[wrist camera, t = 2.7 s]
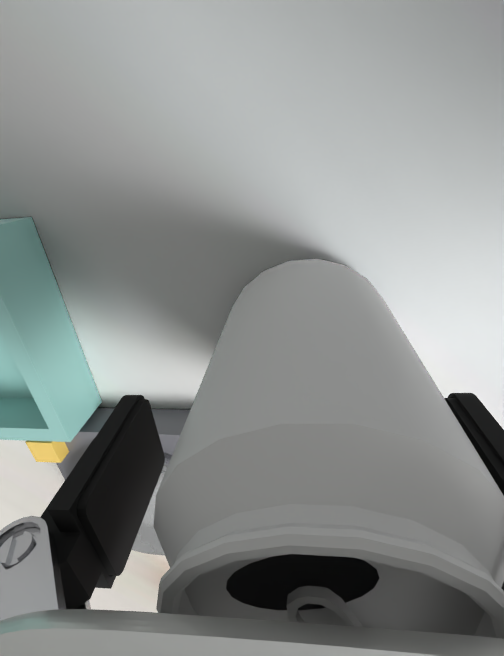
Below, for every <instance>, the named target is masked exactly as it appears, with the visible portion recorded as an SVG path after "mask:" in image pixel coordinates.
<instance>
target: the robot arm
mask: <svg viewBox="0 0 504 656" xmlns="http://www.w3.org/2000/svg"><path fill="white" fill-rule="evenodd" d="M444 399H445V401H446V402H447V404H448V406H449V407H450V409H451V410H452V412H453V414H454V415H455V417H456V419H457V420H458V422H459V424H460V425H461V427H462V428H463V430H464V432H465V433H466V435H467V437H468V438H469V440H470V441H471V443H472V445H473V446H474V448H475V450H476V451H477V453H478V454H479V456H480V458H481V459H482V461H483V463H484V464H485V466H486V468H487V469H488V471H489V472H490V474H491V476H492V477H493V479H494V481H495V482H496V484H497V485H498V487H499V489H500V490H501V492H502V494H503V495H504V430H503V429H502V427H501V426H500V425H499V424H498V422H497V421H496V420H495V419H494V417H493V416H492V415H491V414H490V413H489V411H488V410H487V409H486V408H485V406H484V405H483V404H482V403H481V401H480V400H479V399H478V398H477V397H476V396H475V395H474V394H472V393H451V394H450V395H449V396H448V398H444ZM164 462H165V456H164V452H163V448H162V445H161V441H160V438H159V434H158V431H157V427H156V424H155V420H154V417H153V413H152V410H151V406H150V403H149V401H148V400H146V399H144V397H143V396H142V395H125V396H123V397H122V398H121V400H120V401H119V403H118V404H117V406H116V407H115V409H114V410H113V412H112V413H111V415H110V416H109V418H108V419H107V421H106V422H105V424H104V425H103V427H102V428H101V430H100V431H99V433H98V434H97V436H96V437H95V438H94V439H93V440H92V442H91V443H90V445H89V446H88V448H87V449H86V451H85V452H84V453H83V455H82V456H81V458H80V459H79V461H78V462H77V464H76V465H75V467H74V468H73V470H72V471H71V473H70V474H69V476H68V477H67V479H66V480H65V482H64V483H63V485H62V486H61V488H60V489H59V491H58V492H57V493H56V495H55V496H54V498H53V499H52V501H51V502H50V504H49V505H48V507H47V508H46V510H45V511H44V513H43V514H42V516H41V517H36V516H29V517H24V518H21V519H19V520H16V521H14V522H12V523H10V524H9V525H7V526H6V527H4V528H3V529H1V530H0V656H504V639H502V638H491V637H481V636H470V635H459V634H446V633H433V632H420V631H407V630H394V629H381V628H368V627H355V626H341V625H327V624H313V623H299V622H285V621H271V620H257V619H243V618H228V617H213V616H198V615H183V614H167V613H152V612H136V611H113V610H91V607H90V603H89V599H90V598H91V596H92V593H93V591H94V589H95V587H96V588H111V587H112V585H113V582H114V580H115V577H116V576H119V575H120V574H121V573H122V572H123V570H124V567H125V565H126V562H127V560H128V557H129V554H130V552H131V549H132V547H133V544H134V542H135V539H136V536H137V534H138V531H139V529H140V526H141V523H142V521H143V518H144V516H145V513H146V511H147V508H148V505H149V503H150V500H151V498H152V495H153V492H154V490H155V487H156V485H157V482H158V480H159V477H160V474H161V472H162V469H163V466H164ZM501 589H502V590H503V591H504V582H503V584H502V587H501Z"/></svg>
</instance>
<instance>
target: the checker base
mask: <svg viewBox="0 0 504 656" xmlns="http://www.w3.org/2000/svg"><path fill="white" fill-rule="evenodd" d="M114 409H115V408H97V409H96V410H95V411H94V413H93V414H92V415H91V416H90V418H89V419H88V420H87V422H86V423H85V424H84V425H83V427H82V428H81V429H80V431H79V432H78V433H77V435H76V436H75V437H74V438H73V440H72V441H71V442H55V441H29V440H27V441H26V444H27V446H28V448H29V449H30V451H31V453H32V455H33V456H34V458H35V460H36V462H56V463H57V465H58V467H59V469H60V471H61V473H62V475H63V477H64V479H65V480H66V479H67V477H68V476H69V474H70V473H71V471H72V470H73V468H74V467H75V465H76V464H77V462H78V461H79V459H80V458H81V456H82V455H83V453H84V452H85V451H86V449H87V448H88V446H89V445H90V443H91V442H92V440H93V439H94V438H95V437H96V436H97V434H98V433H99V431H100V430H101V428H102V427H103V425H104V424H105V422H106V421H107V419H108V418H109V416H110V415H111V413H112V412H113V410H114ZM151 410H152V413H153V417H154V420H155V424H156V427H157V431H158V434H159V438H160V441H161V445H162V448H163V452H165V453H167V454H170V455H172V454H173V452H174V449H175V447H176V445H177V442H178V440H179V437H180V435H181V432H182V430H183V427H184V425H185V422H186V420H187V417H188V415H189V412H190V410H177V409H151Z"/></svg>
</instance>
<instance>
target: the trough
mask: <svg viewBox="0 0 504 656" xmlns="http://www.w3.org/2000/svg"><path fill="white" fill-rule="evenodd" d="M101 402H102V401H101V398H100V395H99V393H98V390H97V388H96V385H95V382H94V380H93V377H92V374H91V372H90V369H89V367H88V364H87V361H86V359H85V356H84V353H83V351H82V348H81V346H80V343H79V340H78V338H77V335H76V332H75V330H74V327H73V325H72V322H71V319H70V317H69V314H68V311H67V309H66V306H65V303H64V301H63V298H62V296H61V293H60V290H59V288H58V285H57V282H56V280H55V277H54V275H53V272H52V269H51V267H50V264H49V261H48V259H47V256H46V254H45V251H44V248H43V246H42V243H41V240H40V238H39V235H38V232H37V230H36V227H35V225H34V222H33V219H32V217H25V218H10V219H0V439H3V440H29V441H55V442H71V441H72V440H73V438H74V437H75V436H76V435H77V433H78V432H79V431H80V429H81V428H82V427H83V425H84V424H85V423H86V422H87V420H88V419H89V418H90V416H91V415H92V414H93V413H94V411H95V410H96V409H97V407H98V406H99V405H100V404H101Z"/></svg>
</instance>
